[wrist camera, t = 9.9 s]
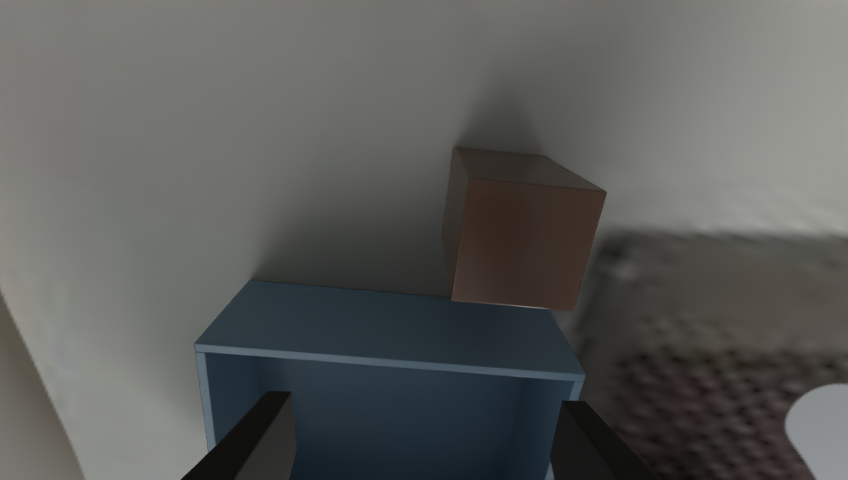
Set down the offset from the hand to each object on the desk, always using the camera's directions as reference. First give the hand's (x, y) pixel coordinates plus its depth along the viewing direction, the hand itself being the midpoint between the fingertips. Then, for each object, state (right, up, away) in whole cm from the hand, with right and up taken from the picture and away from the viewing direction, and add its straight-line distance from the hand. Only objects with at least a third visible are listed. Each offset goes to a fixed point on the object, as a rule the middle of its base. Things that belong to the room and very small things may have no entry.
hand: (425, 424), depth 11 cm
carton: (-2, -5, +13) cm, 14 cm away
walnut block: (+3, +7, +8) cm, 11 cm away
